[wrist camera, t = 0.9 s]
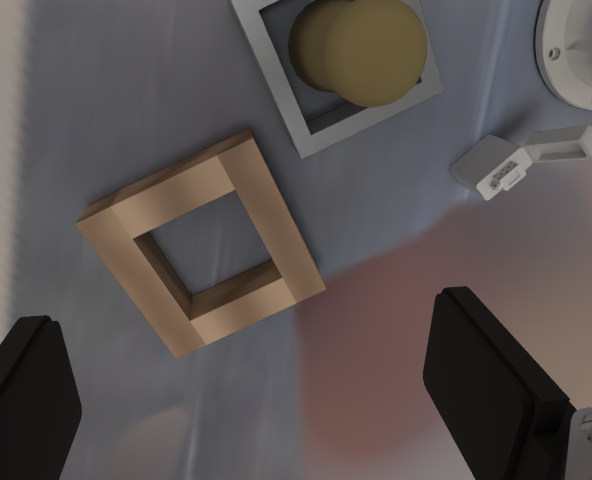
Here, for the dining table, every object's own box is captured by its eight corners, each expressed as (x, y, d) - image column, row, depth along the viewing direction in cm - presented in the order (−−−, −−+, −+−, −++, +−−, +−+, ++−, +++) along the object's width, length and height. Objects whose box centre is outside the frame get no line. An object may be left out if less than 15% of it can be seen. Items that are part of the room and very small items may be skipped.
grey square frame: (377, -73, 28) (397, -86, 25) (422, 85, 33) (443, 91, 30) (228, 1, 29) (229, -2, 26) (293, 146, 33) (301, 159, 30)
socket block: (249, 127, 32) (253, 137, 29) (317, 267, 38) (326, 289, 35) (88, 205, 33) (75, 223, 30) (179, 331, 39) (176, 358, 36)
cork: (276, 14, 30) (306, 8, 20) (362, -18, 30) (435, -39, 20) (303, 104, 32) (341, 138, 23) (382, 75, 32) (455, 97, 23)
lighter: (459, 183, 37) (517, 221, 30) (447, 169, 36) (504, 204, 29) (530, 122, 36) (609, 146, 29) (520, 105, 35) (598, 126, 28)
